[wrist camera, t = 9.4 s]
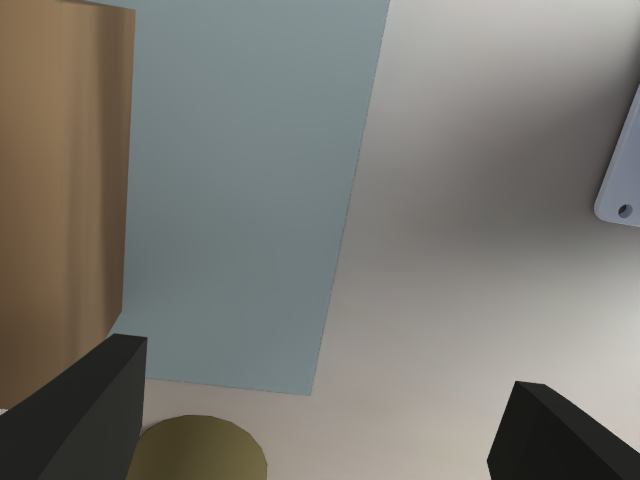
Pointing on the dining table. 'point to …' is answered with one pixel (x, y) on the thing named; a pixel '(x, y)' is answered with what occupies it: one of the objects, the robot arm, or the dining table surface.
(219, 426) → the cork
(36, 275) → the brown box
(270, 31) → the shelf board
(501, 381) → the dining table surface
